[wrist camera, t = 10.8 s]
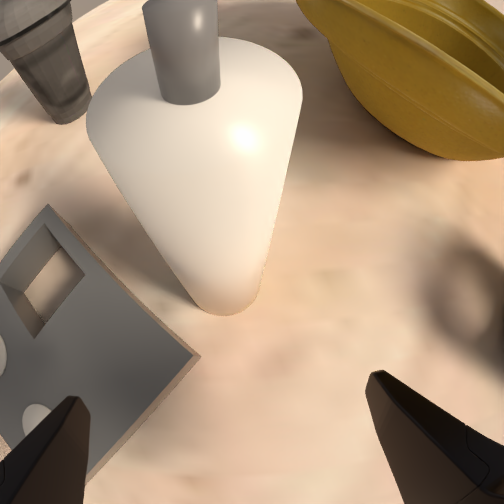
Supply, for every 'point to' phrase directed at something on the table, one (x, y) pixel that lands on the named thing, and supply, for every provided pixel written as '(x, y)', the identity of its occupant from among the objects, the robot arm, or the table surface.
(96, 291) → the charging dock
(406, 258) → the table surface
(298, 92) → the white lotion bottle
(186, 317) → the table surface
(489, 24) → the planter bowl
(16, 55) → the beverage cup
